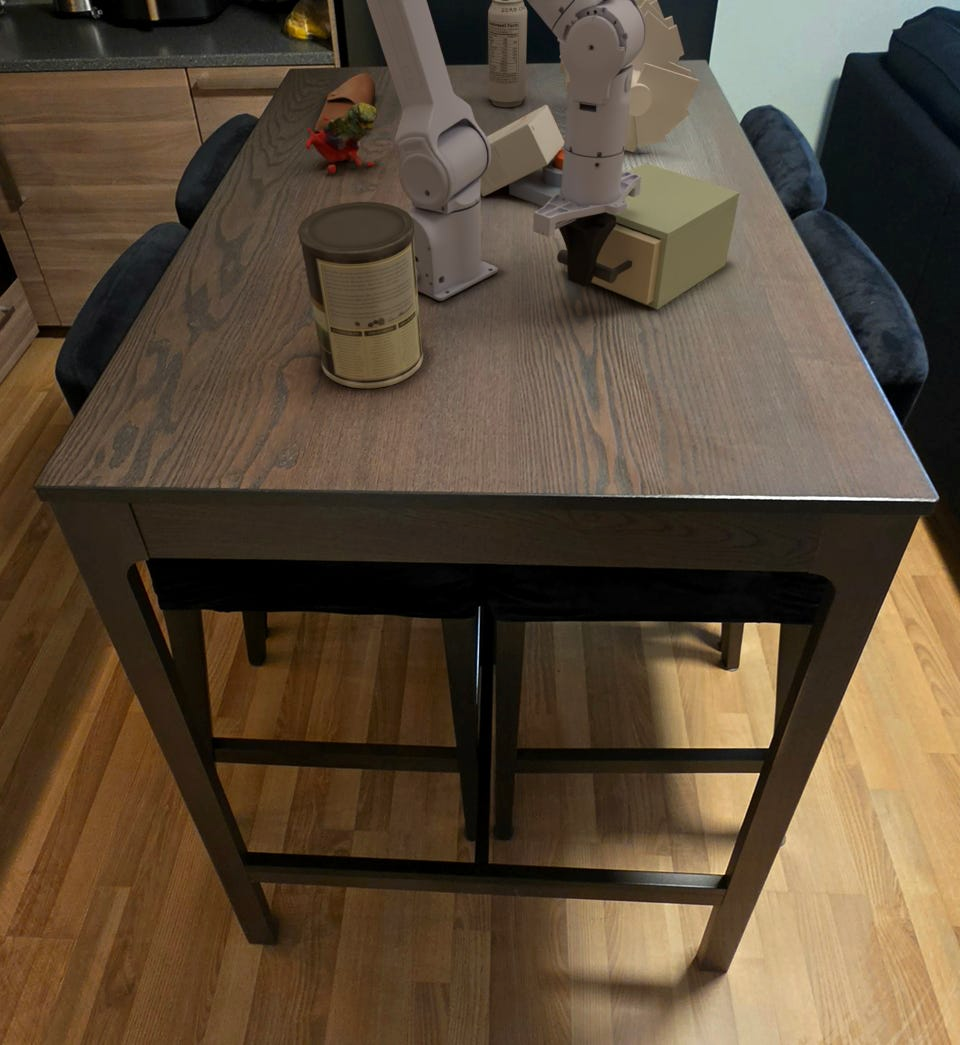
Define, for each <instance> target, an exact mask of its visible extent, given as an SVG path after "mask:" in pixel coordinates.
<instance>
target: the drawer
mask: <svg viewBox="0 0 960 1045" xmlns="http://www.w3.org/2000/svg"><path fill="white" fill-rule="evenodd" d="M660 239H661V238H658V237H655V236H652V235H649V234H647V233H644V232H641V231H638V230H636V229H633V228H630V227H627V226H625V225H622V224H619V223H616V226H615V228H614V229H613V230H612V231H611V233H610V234H609V236H608V237H607V239H606V241H605V242H604V244H603V246H602V248H601V250H600V252H599V254H598V257H597V261H596V267H595V268H594V270H593V274H592V275H593V279H592V281H591V282H594V283H596V284H599V285H601V286H603V287H606V288H608V289H611V290H613V291H616V292H618V293H620V294H623V295H625V296H628V297H630V298H633V299H635V300H637V301H640V302H642V303H645V304H648V303H650V302H651V301H653V298H654V291H655V283H656V276H657V269H658V262H659V254H660V247H661V240H660ZM567 256H568V251H567V247H566V246H565V249H563V248H561V249H560V250H559V252H558V254H557V255H556V261H557V262H558V263H559V264H563V265H564V272H567ZM594 283H593V284H594ZM596 284H595V285H596ZM601 286H600V287H601ZM603 287H602V288H603ZM606 288H605V289H606ZM608 289H607V290H608ZM611 290H610V291H611ZM613 291H612V292H613ZM618 293H617V294H618ZM620 294H619V295H620ZM623 295H622V296H623ZM625 296H624V297H625ZM628 297H627V298H628ZM630 298H629V299H630ZM635 300H634V301H635ZM637 301H636V302H637ZM640 302H639V303H640ZM642 303H641V304H642Z"/></svg>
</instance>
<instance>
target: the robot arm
mask: <svg viewBox="0 0 960 1045" xmlns="http://www.w3.org/2000/svg"><path fill="white" fill-rule="evenodd" d="M365 1H366V4H367V7H368V10H369V12H370V16H371V19H372V22H373V25H374V28H375V31H376V35H377V37H378V40H379V41H378V42H379V44H380V46H381V47H380V48H381V49H382V52H383V56H384V59H385V62H386V64H387V68H388V71H389V74H390V77H391V80H392V83H393V86H394V89H395V92H396V96H397V98H398V101H399V104H400V107H401V112H402V113H401V117H400V121H399V123H398V127H397V130H396V133H395V137H394V144H395V148H396V151H397V154H398V178H399V182H400V185H401V188H402V190H403V192H404V193H405V195H406V196H407V198H409V200H410V201H411V205H410V206H409V208H408V209H407V210H405V211H406V212H407V213H408V214H409V215H410V216H411V217H412V219H413V221H414V234H413V238H414V251H415V265H416V278H417V290H418V293H419V292H420V293H421V294H424V295H426V296H428V297H430V298H432V299H434V300H437V301H439V302H442V301H445V300H447V299H449V298H451V297H452V296H454V295H457V294H458V293H460V292H462V291H464V290H466V289H468V288H470V287H472V286H473V285H475V284H477V283H479V282H481V281H483V280H486V279H487V278H489V277H492V276H493V275H495V274H497V273H498V271H499V269H498V266H495V265H493V264H491V263H488V262H486V261H485V260H482V209H481V208H482V205H481V204H482V203H481V192H480V189H481V177H482V176H483V175H484V174H485V173H486V172H487V170H488V168H489V166H490V163H491V148H490V144H489V141H488V139H487V135H486V133H485V132H484V131H483V130H482V129H481V127H480V126H479V124H478V122H477V121H476V119H475V115H474V113H473V110H472V106H471V105H470V104H469V103H467V101H465V100H464V99H462V98H461V97H459V96H458V95H457V94H455V92H454V90H453V85H452V83H451V79H450V76H449V73H448V69H447V65H446V62H445V59H444V56H443V52H442V49H441V44H440V42H439V38H438V34H437V32H436V28H435V24H434V21H433V18H432V15H431V11H430V8H429V4H428V1H427V0H365ZM526 1H527V2H528V4H529V5H530V6H531V7H532V9H533V10H534V11H535V12H536V14H537V15H538V16H539V17H540V18H541V20H542V21H543V22H544V23H545V25H546V26H547V27H548V29H550V31H551V32H552V33H553V35H554V36H555V37H556V38H557V39H558V38H559V39H560V40H562V42H559V54H560V55H561V58H560V60H561V59H562V62H563V64H564V66H565V68H566V70H567V71H568V73H569V91H568V92H567V100H566V115H565V128H564V129H565V130H564V146H563V150H564V156H563V171H562V185H561V189H560V190H559V191H558V192H557V193H556V194H555V195H554V196H553V197H552V198H551V199H550V200H549V201H548V202H547V204H546V205H545V206H541V208H539V209H538V210H535V211H534V212H533V223H532V224H533V225H532V232H534V233H536V234H539V235H541V236H544V237H546V238H550V237H552V236H554V235H555V234H556V230H558V231H559V233H560V235H561V236H562V238H563V241H564V244H565V248H566V247H567V251H568V256H567V271H566V273H567V272H568V273H567V277H568V281H570V282H572V283H574V284H577V285H578V286H581V287H586V286H587V285H589V284H592V283H591V281H592V279H593V275H592V274H593V270H594V268H595V267H596V261H597V257H598V254H599V252H600V250H601V248H602V246H603V244H604V242H605V241H606V239H607V237H608V236H609V234H610V233H611V231H612V230H613V229H614V228H615V226H616V217H615V216H614V215H612V214H609V213H606V212H610V213H614V214H616V213H619V212H621V211H623V210H625V209H626V208H627V201H625V200H624V199H625V198H626V196H631V197H635V196H637V195H639V194H640V187H641V179H642V176H640V175H637V174H633V173H630V172H628V171H624V172H623V168H624V156H625V150H624V149H625V142H626V133H627V125H628V116H629V107H630V98H631V95H630V91H631V83H632V74H633V65H630V66H628V67H626V68H624V67H625V66H627V65H628V64H629V63H631V62H632V61H633V60H634V59H635V58H636V56H637V55H638V54H639V52H640V51H641V49H642V47H643V44H644V41H645V37H646V24H645V19H644V16H643V14H642V12H641V10H640V9H639V7H638V4H637V1H636V0H526ZM622 68H623V69H622Z"/></svg>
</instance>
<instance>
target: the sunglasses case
mask: <svg viewBox="0 0 960 1045" xmlns="http://www.w3.org/2000/svg"><path fill="white" fill-rule="evenodd" d="M375 95H376V83H375V81H374V79H373V77H372V76H371V75H370V74H369V73H367V72H362V73H358V74H357V75H354V76H353V77H351V78H349V79H347V81H345V82H343V83H342V84H341V85H340V86H338V87H337V88H336V89H335V90H333V91H331V92H329V93H328V95H327V96H326V100H325V102H324V105H323V107H322V110H321V112H320V114H319V117H318V119H317V121H316V124H315V127H314V132H317V133H318V134H319V133H321V132H322V131H324V128H325V127H326V126H327V125H328V124H329V121H330V120H334V119H335V118H337V117H343V116H345V115H346V113H347V111H348V110H349V108H350V107H351V106H353V105H355V104H358V103H365V104H369V105H372V106H373V103H374V98H375ZM323 117H327V118H328V120H327V121H326V120H324V119H323Z"/></svg>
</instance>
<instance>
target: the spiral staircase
mask: <svg viewBox="0 0 960 1045" xmlns="http://www.w3.org/2000/svg"><path fill="white" fill-rule="evenodd" d="M636 1H637V4H638V7H639V9H640V10H641V12H642V14H643V16H644V19H645V24H646V37H645V41H644V44H643V47H642V49H641V51H640V52H639V54H638V55H637V56H636V58H635V59H634V60H633V61H632V62H631V63H629V64H628V65H627V66H625V67H624V68H626V67H628V66H630V65H633V74H632V83H631V91H630V95H631V98H630V107H629V116H628V125H627V133H626V142H625V149H624V151H628V152H631V153H635V151H636V148H643V147H646V146H650V145H653V144H658V143H662V142H666V141H667V136H666V135H668V134H669V133H670V132H671V131H673V129H675V128H676V127H677V126H678V125H680V123H682V122H683V121H684V120H685V119H686V118H687V117H688V116H690V112H689V111H688V107H689V105H690V103H691V102H692V98H693V97H694V94H695V92H696V89H697V87H698V86H699V85H698V84H699V83H700V80H699V78H695V77H692V76H690V74H691V72H692V71H691V69H688V68H685V67H683V66H681V65H679V64H678V63H679V61H680V57H682V56H684V55H685V52H684V47H683V44H682V41H681V36H680V33H679V32H680V31H679V29H678V25H677V24H675V23H674V17H673V15H670V16H668V17H664V14H663V12H662V9H661V7H660V6H661V5H660V3H659V1H658V0H636ZM557 42H558V43H560V42H562V40H560V39H559V38H557ZM559 59H560V65H559V74H563V75H564V82H563V84H564V85H563V91H564V92H567V93H568V91H569V73H568V71H567V70H566V68H565V66H564V64H563V62H562V59H561V54H560V55H559ZM622 69H623V68H622Z"/></svg>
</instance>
